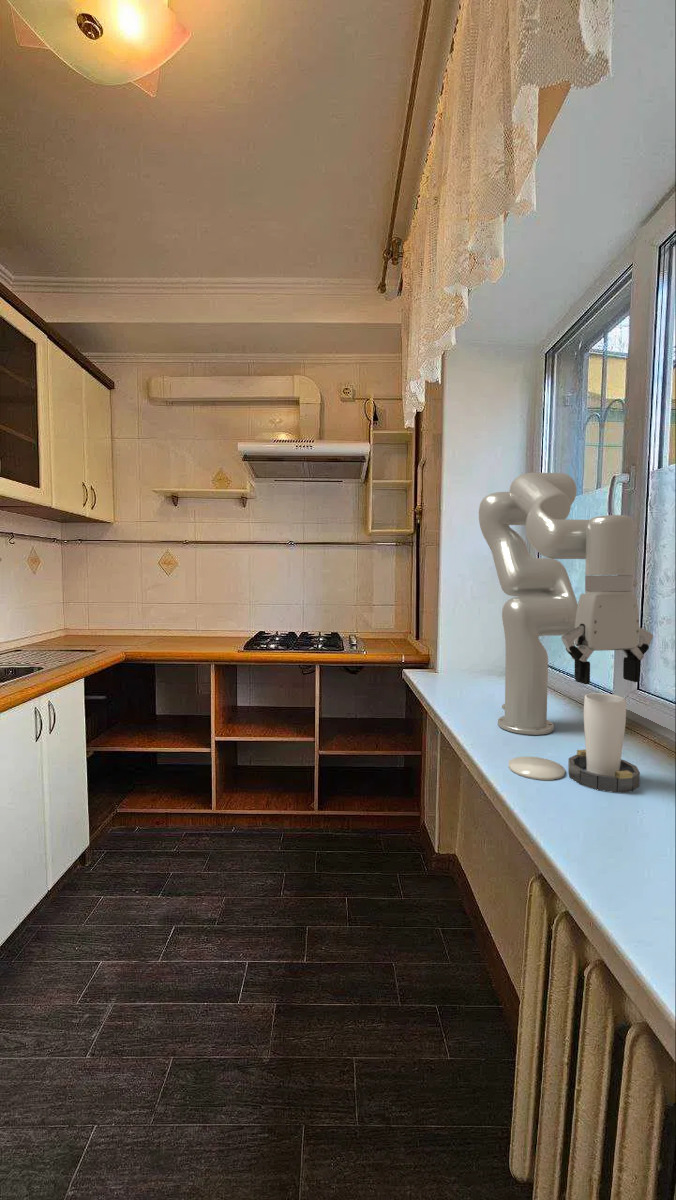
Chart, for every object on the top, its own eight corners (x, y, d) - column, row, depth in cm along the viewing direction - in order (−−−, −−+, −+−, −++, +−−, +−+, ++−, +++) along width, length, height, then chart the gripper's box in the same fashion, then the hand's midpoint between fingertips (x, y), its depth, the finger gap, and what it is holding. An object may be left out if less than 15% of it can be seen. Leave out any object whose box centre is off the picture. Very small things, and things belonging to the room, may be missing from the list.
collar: (555, 768, 97) (555, 751, 96) (608, 764, 98) (608, 747, 98) (596, 795, 85) (596, 776, 85) (654, 790, 87) (655, 771, 87)
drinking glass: (573, 776, 93) (575, 695, 92) (596, 768, 96) (598, 691, 95) (609, 789, 87) (611, 704, 86) (632, 781, 90) (634, 699, 90)
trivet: (499, 761, 100) (499, 758, 100) (545, 758, 102) (545, 755, 102) (525, 782, 90) (526, 779, 90) (576, 778, 92) (576, 775, 92)
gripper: (636, 585, 95) (634, 675, 95) (551, 586, 92) (550, 679, 92) (668, 586, 87) (666, 684, 88) (577, 586, 84) (576, 688, 85)
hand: (606, 681), depth 90 cm, fingers open, 9 cm apart
